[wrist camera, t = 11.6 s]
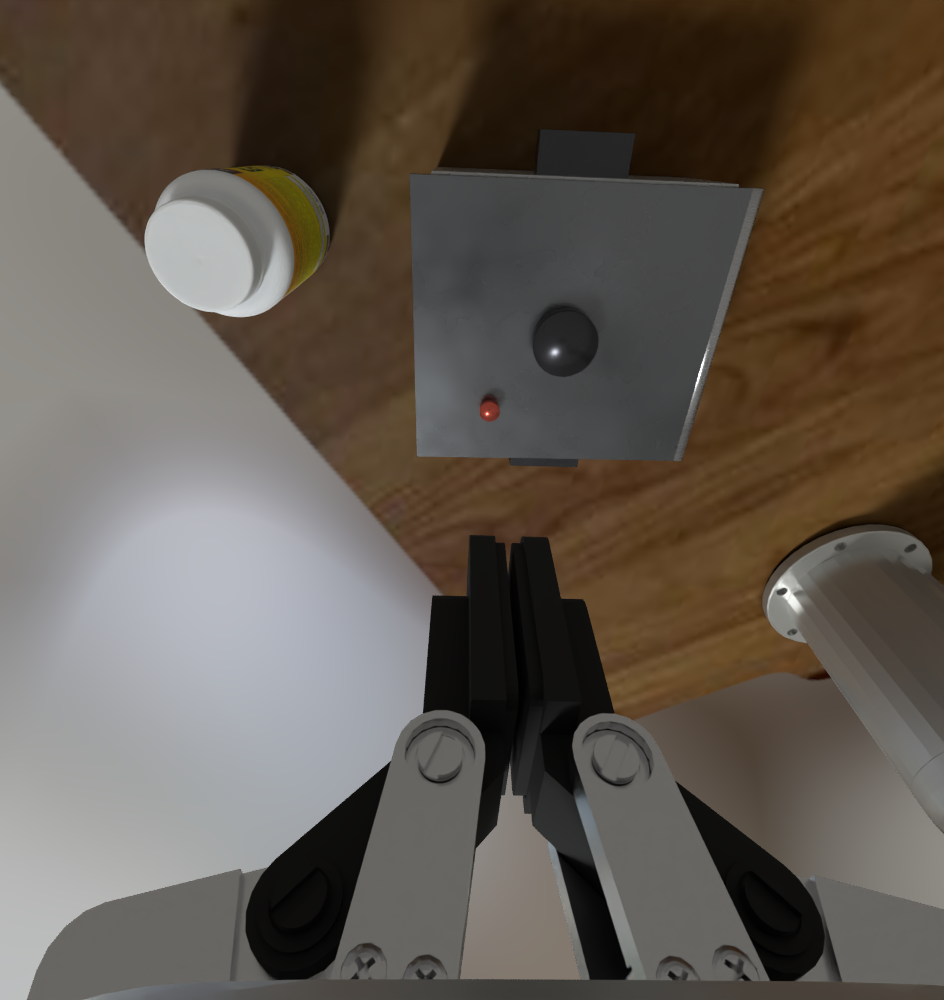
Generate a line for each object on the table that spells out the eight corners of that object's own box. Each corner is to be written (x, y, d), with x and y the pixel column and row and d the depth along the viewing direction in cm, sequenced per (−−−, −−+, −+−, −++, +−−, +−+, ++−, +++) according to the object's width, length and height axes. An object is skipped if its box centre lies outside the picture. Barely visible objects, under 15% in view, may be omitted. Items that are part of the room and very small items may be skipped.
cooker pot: (696, 139, 26) (752, 137, 21) (629, 431, 35) (657, 477, 30) (437, 128, 26) (431, 123, 21) (437, 425, 35) (433, 472, 30)
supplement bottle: (291, 142, 26) (208, 138, 17) (351, 253, 29) (305, 296, 20) (202, 196, 27) (84, 218, 19) (269, 297, 30) (192, 356, 21)
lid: (758, 188, 22) (777, 190, 21) (679, 454, 29) (689, 468, 28) (411, 173, 21) (408, 174, 20) (417, 449, 28) (416, 463, 27)
